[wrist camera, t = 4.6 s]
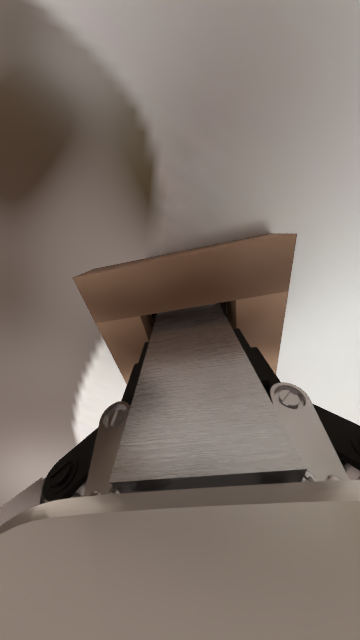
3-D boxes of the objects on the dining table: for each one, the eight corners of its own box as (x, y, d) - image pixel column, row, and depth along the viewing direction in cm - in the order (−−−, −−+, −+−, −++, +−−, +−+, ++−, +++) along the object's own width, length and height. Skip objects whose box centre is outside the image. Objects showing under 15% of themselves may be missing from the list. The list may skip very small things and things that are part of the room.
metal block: (158, 308, 13) (109, 482, 4) (216, 298, 12) (307, 468, 3) (170, 351, 15) (156, 527, 6) (219, 344, 14) (281, 522, 6)
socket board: (93, 268, 11) (69, 279, 9) (271, 233, 10) (300, 233, 8) (171, 447, 23) (170, 472, 21) (254, 440, 22) (263, 465, 20)
